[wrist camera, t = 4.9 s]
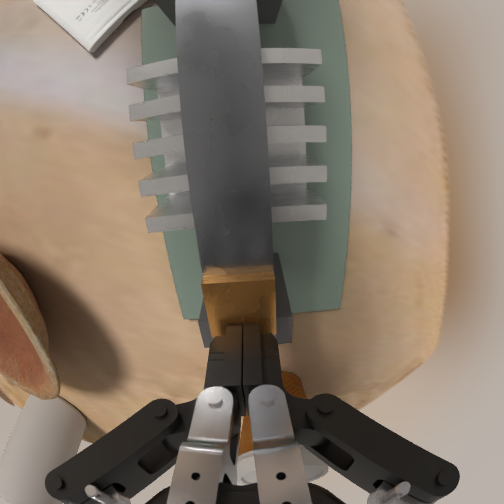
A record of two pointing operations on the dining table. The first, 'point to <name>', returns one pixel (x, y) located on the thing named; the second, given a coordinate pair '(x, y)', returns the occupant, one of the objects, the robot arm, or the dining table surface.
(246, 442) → the disposable coffee cup
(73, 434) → the cylinder vase
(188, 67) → the strap
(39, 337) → the bowl
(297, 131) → the heatsink
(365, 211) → the dining table surface
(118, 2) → the external hard drive
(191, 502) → the robot arm
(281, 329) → the post
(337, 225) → the board
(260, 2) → the hinge post
